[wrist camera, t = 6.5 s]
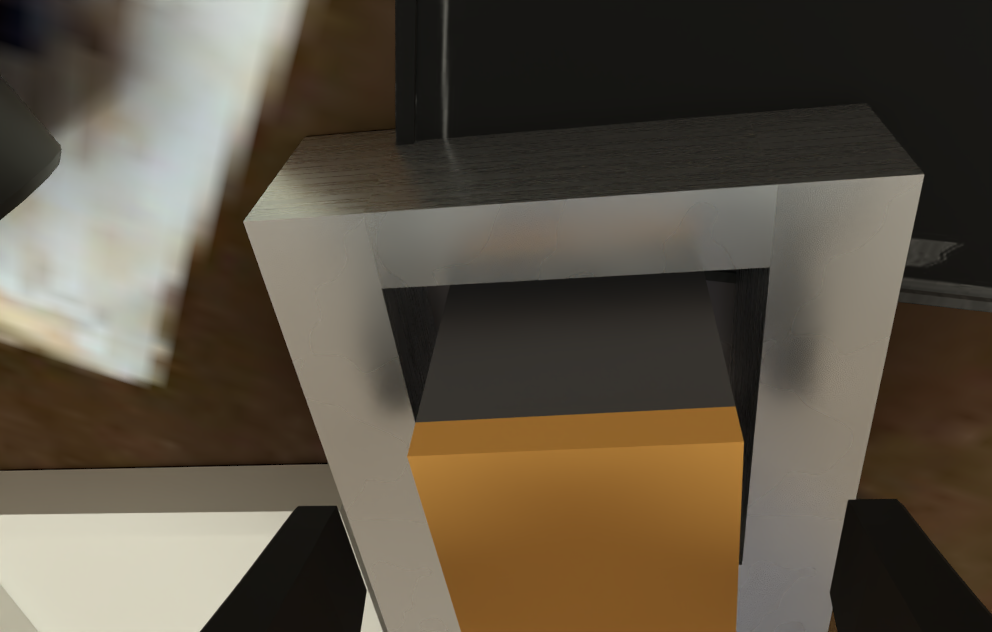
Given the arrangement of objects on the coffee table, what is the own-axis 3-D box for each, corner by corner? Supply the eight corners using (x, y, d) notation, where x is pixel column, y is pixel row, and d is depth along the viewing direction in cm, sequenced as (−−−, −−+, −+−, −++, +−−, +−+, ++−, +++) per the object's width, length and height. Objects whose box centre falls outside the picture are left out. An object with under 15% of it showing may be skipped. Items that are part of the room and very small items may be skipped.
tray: (428, 691, 24) (421, 738, 23) (73, 683, 26) (50, 726, 24) (354, 463, 18) (339, 510, 17) (-97, 473, 20) (-138, 516, 19)
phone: (395, -324, 9) (1728, -202, 9) (412, -317, 10) (1619, -206, 10) (395, 250, 14) (1261, 349, 13) (407, 220, 15) (1218, 311, 14)
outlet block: (766, 699, 22) (789, 814, 20) (460, 692, 24) (446, 799, 21) (855, 90, 12) (924, 174, 10) (304, 136, 13) (243, 221, 11)
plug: (694, 438, 16) (733, 678, 12) (501, 447, 16) (474, 677, 12) (692, 224, 13) (743, 441, 9) (460, 245, 14) (407, 456, 10)
